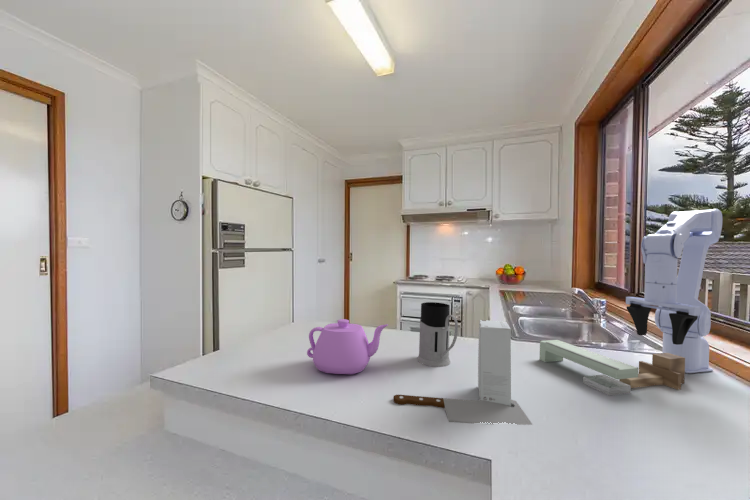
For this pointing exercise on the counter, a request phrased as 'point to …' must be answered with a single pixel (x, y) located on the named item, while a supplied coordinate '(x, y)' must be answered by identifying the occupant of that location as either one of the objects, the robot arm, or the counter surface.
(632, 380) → the push stick
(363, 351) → the teapot
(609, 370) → the drawer pull
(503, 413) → the kitchen cleaver
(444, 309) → the glass holder
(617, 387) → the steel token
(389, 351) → the counter surface
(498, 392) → the skincare box
